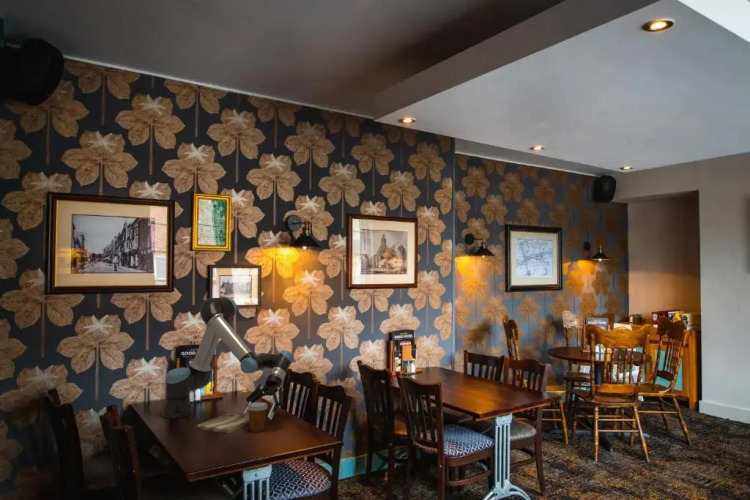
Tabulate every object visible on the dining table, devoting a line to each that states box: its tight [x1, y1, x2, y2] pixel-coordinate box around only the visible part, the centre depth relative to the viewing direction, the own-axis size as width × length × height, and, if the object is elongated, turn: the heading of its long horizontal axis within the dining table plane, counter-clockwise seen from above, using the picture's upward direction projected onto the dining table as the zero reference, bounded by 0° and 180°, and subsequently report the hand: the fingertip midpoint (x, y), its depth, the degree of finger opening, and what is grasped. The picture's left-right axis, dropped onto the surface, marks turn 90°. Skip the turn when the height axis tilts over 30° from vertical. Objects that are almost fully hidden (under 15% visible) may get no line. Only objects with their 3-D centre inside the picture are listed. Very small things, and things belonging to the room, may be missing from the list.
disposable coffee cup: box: [247, 401, 269, 433], centre depth 242 cm, size 10×10×12 cm
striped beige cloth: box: [197, 413, 250, 435], centre depth 250 cm, size 18×22×2 cm
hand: (257, 416), depth 242 cm, fingers open, 13 cm apart
